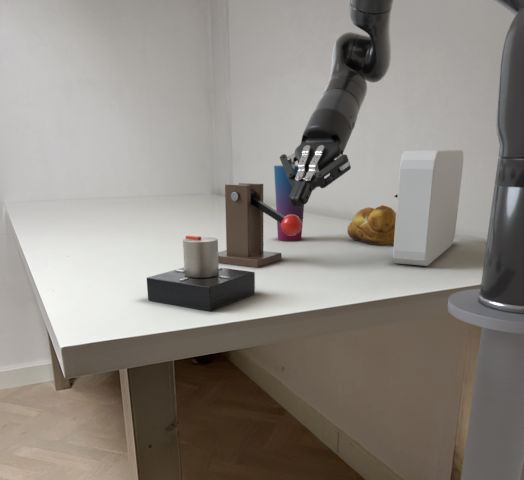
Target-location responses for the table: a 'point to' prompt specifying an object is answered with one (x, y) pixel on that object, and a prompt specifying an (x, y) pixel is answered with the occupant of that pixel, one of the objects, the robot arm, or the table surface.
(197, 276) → the knob
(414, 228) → the rounded white slab
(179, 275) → the black square base
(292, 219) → the lever
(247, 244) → the brown lever stand
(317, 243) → the table surface
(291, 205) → the cup
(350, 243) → the table surface
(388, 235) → the bread roll
